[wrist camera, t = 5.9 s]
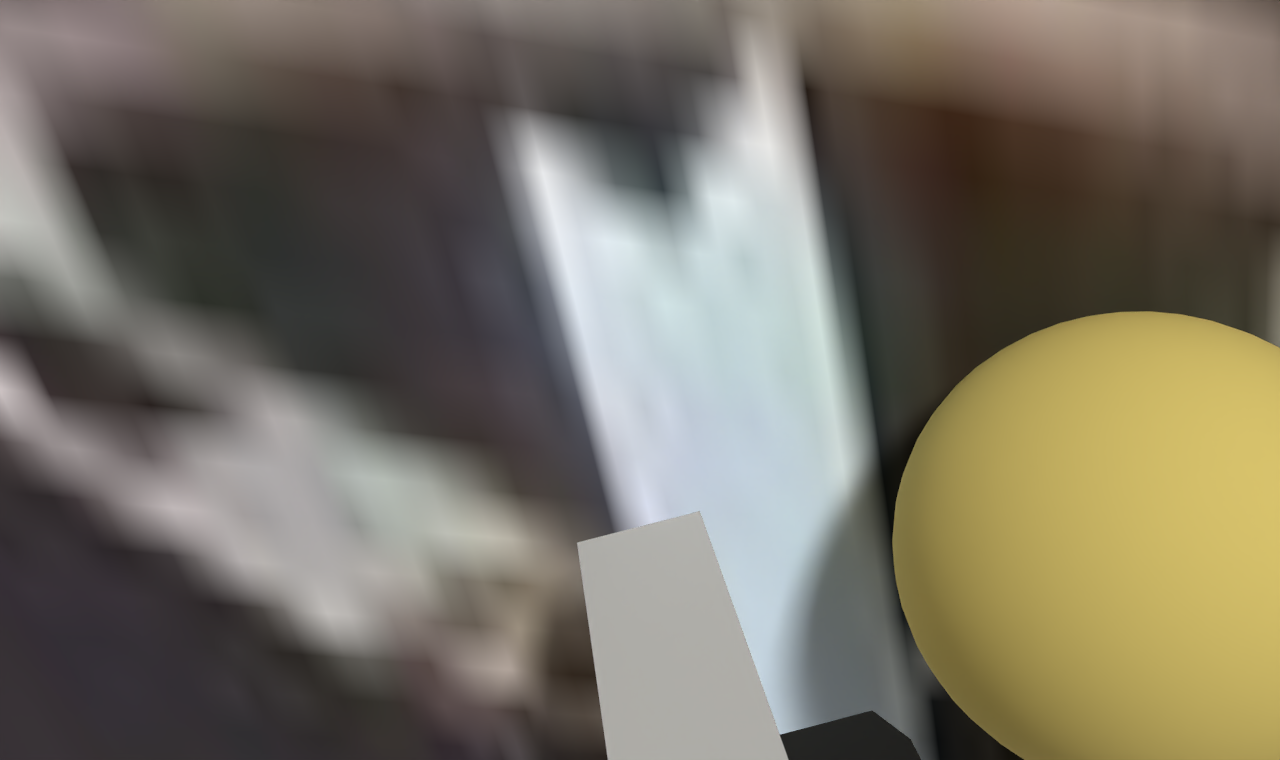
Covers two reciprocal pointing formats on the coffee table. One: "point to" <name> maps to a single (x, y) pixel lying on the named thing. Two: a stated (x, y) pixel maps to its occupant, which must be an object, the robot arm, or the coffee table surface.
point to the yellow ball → (1104, 542)
